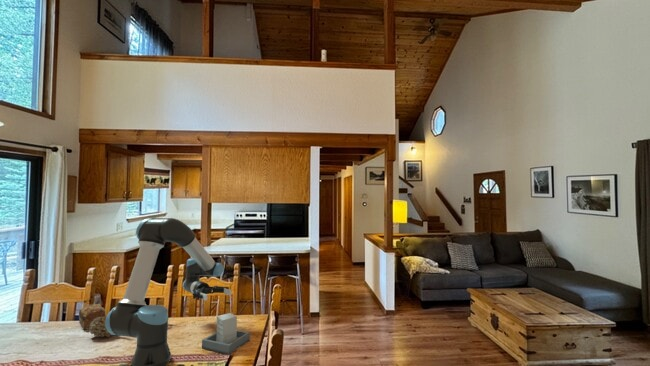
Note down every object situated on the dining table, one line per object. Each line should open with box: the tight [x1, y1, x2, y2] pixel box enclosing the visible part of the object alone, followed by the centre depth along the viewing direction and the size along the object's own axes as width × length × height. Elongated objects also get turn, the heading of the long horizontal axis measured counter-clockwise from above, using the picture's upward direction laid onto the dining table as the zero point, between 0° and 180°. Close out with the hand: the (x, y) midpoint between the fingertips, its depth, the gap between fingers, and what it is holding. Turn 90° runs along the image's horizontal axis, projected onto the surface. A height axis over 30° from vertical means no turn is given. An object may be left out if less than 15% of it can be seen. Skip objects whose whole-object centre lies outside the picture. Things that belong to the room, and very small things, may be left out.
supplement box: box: [216, 312, 238, 344], centre depth 153 cm, size 7×7×13 cm
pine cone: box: [88, 315, 112, 338], centre depth 162 cm, size 22×10×10 cm, turn 89°
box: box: [201, 329, 251, 355], centre depth 153 cm, size 16×16×4 cm
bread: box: [78, 303, 107, 330], centre depth 180 cm, size 19×11×10 cm, turn 44°
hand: (219, 295), depth 162 cm, fingers open, 13 cm apart
